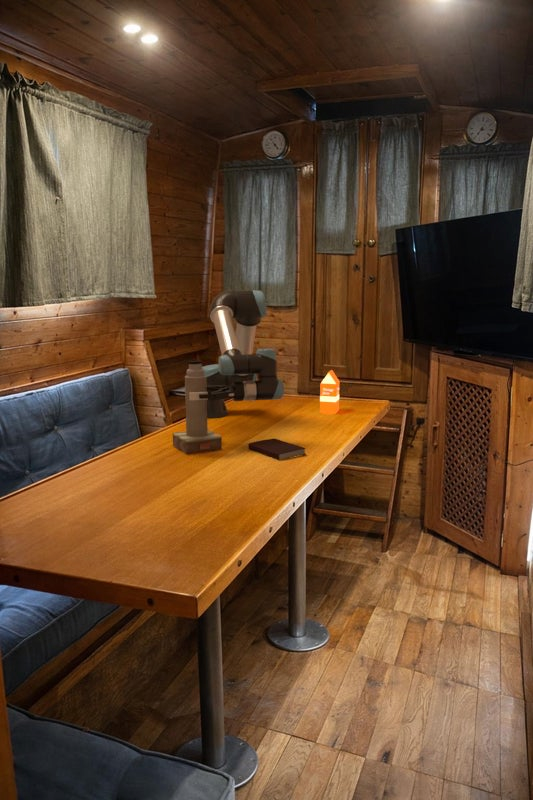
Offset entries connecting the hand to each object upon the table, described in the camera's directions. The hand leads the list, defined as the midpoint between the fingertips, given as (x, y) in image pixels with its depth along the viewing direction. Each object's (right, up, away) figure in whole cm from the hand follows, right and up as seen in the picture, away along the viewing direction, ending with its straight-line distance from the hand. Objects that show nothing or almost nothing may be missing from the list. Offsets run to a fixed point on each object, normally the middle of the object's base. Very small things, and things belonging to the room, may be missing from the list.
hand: (187, 393), depth 242 cm
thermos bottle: (+3, -16, +4) cm, 17 cm away
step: (+3, -20, +5) cm, 21 cm away
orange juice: (+60, -9, +69) cm, 92 cm away
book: (+33, -22, -1) cm, 40 cm away
